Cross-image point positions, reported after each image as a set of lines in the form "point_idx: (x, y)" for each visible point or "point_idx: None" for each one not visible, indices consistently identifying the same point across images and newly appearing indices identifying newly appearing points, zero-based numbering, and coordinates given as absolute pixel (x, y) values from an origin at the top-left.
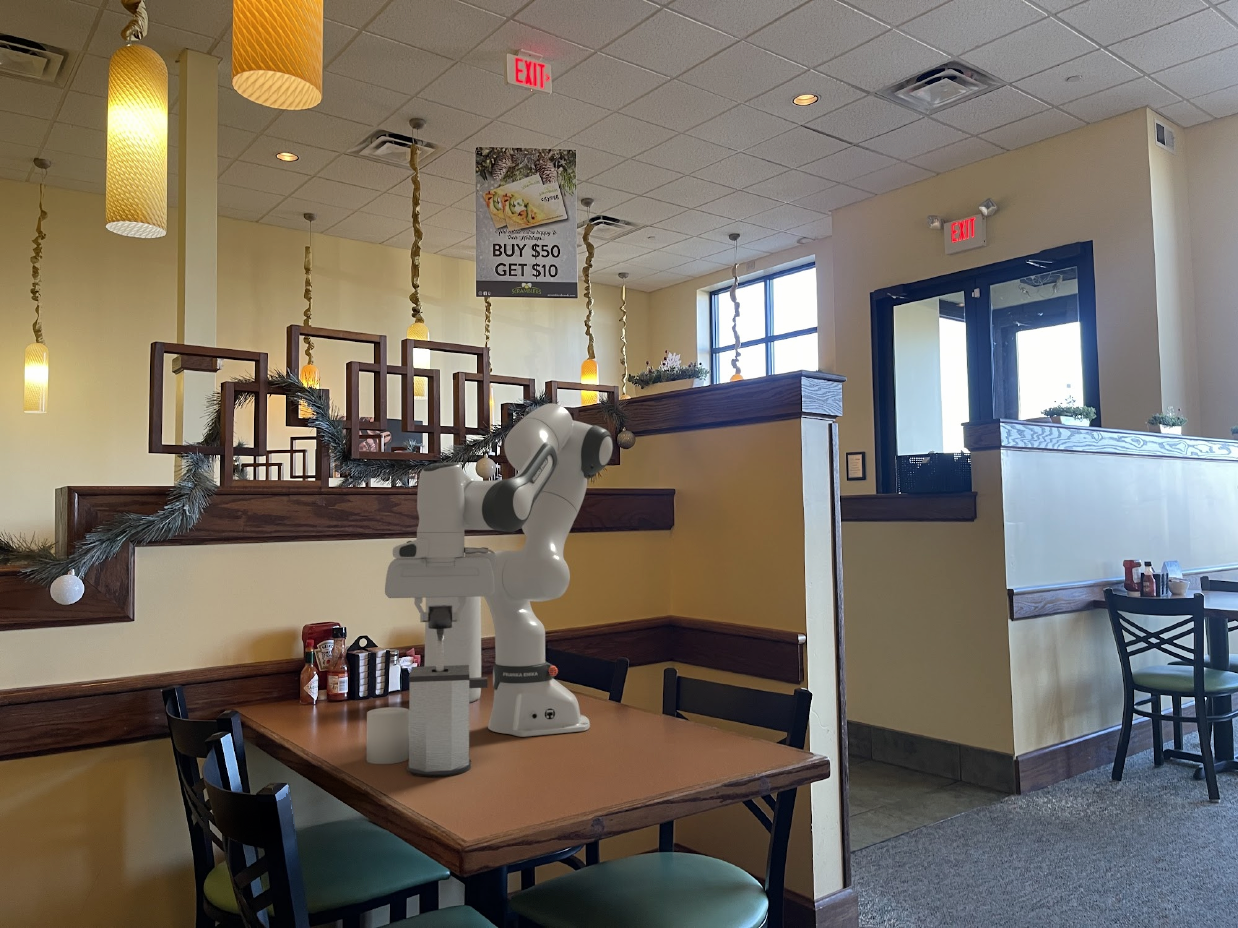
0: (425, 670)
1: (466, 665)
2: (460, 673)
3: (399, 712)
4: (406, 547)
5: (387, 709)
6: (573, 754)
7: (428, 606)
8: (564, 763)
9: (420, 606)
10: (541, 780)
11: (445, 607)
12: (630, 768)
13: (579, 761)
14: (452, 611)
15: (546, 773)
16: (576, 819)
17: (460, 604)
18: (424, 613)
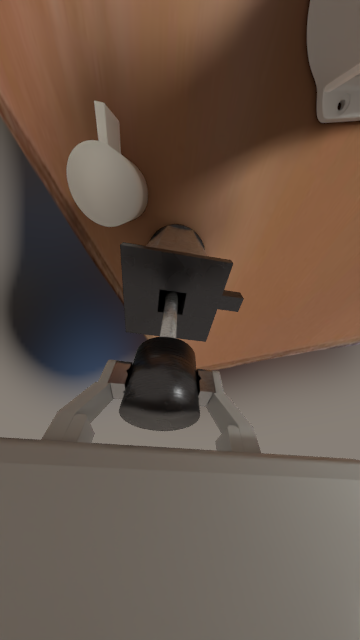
0: (148, 294)
1: (226, 267)
2: (196, 332)
3: (121, 204)
4: None
5: (97, 165)
6: (307, 252)
7: (120, 414)
8: (280, 279)
9: (93, 416)
10: (239, 313)
11: (173, 428)
12: (311, 307)
13: (294, 277)
14: (200, 393)
15: (251, 300)
16: (225, 366)
17: (224, 426)
18: (115, 396)
